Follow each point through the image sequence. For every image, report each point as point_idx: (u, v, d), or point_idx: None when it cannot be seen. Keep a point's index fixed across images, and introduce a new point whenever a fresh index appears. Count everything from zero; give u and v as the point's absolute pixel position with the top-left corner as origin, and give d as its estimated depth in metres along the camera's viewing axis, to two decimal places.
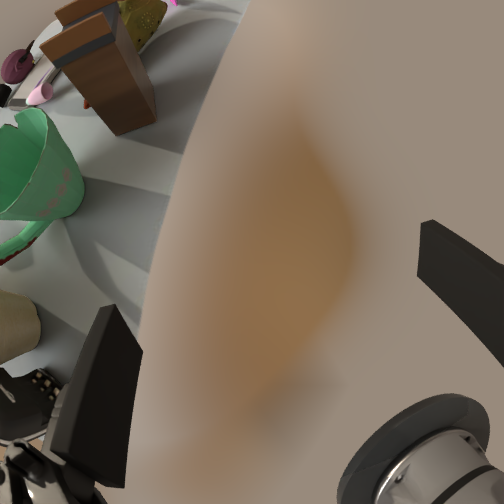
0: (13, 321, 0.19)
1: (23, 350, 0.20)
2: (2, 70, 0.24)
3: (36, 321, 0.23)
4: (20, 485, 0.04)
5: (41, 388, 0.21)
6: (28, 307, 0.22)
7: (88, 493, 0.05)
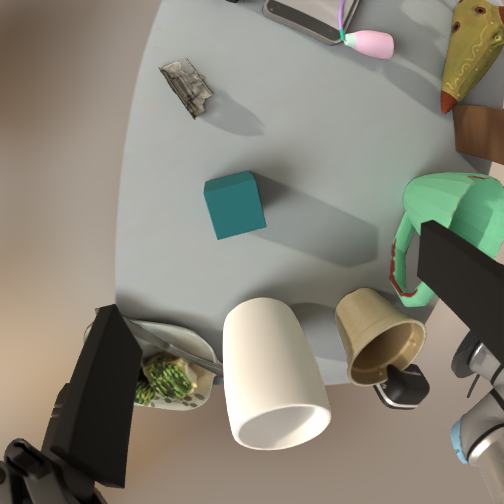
0: None
1: (379, 333, 0.32)
2: None
3: None
4: (20, 485, 0.04)
5: None
6: None
7: (88, 493, 0.05)
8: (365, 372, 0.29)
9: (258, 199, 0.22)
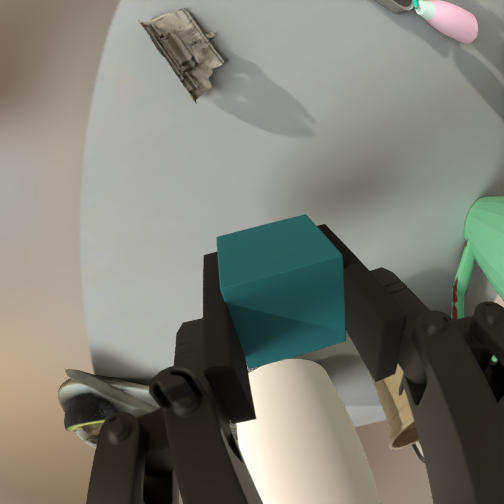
0: None
1: None
2: None
3: None
4: (146, 446, 0.05)
5: None
6: None
7: (228, 427, 0.07)
8: (403, 430, 0.21)
9: (342, 295, 0.10)
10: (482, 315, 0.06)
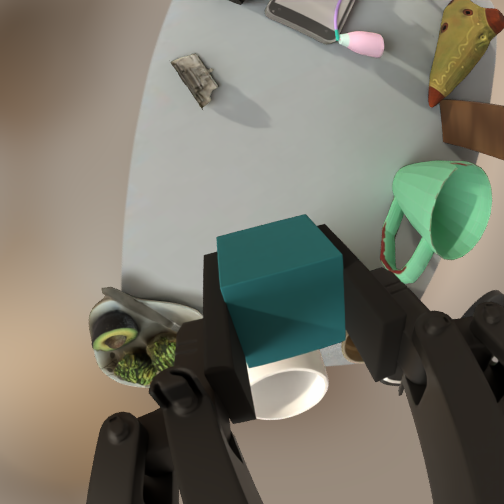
0: None
1: None
2: None
3: None
4: (146, 446, 0.05)
5: None
6: None
7: (228, 427, 0.07)
8: None
9: (341, 295, 0.10)
10: (482, 315, 0.06)
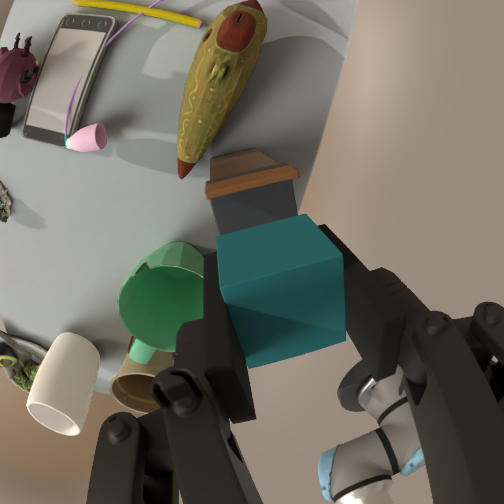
0: None
1: None
2: None
3: None
4: (146, 446, 0.05)
5: None
6: None
7: (228, 427, 0.07)
8: (148, 402, 0.34)
9: (342, 295, 0.10)
10: (482, 315, 0.06)
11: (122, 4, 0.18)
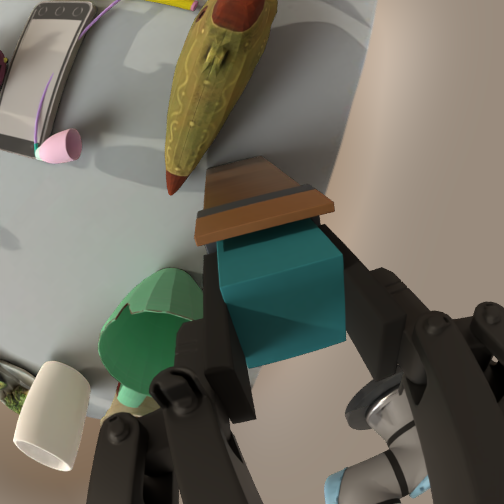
0: None
1: None
2: None
3: None
4: (146, 446, 0.05)
5: None
6: None
7: (228, 427, 0.07)
8: None
9: (342, 295, 0.10)
10: (482, 315, 0.06)
11: None
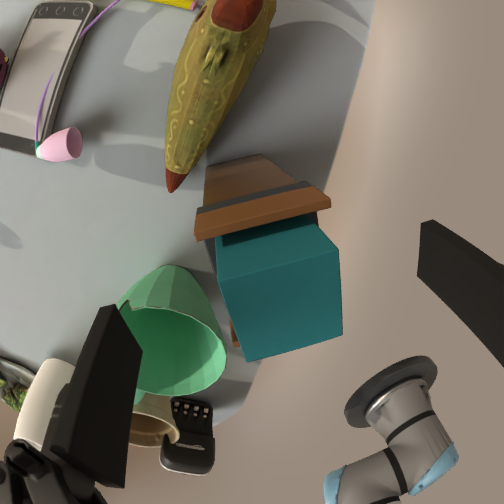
0: (166, 402, 0.29)
1: None
2: None
3: None
4: (19, 485, 0.04)
5: (184, 412, 0.35)
6: None
7: (88, 493, 0.05)
8: (144, 434, 0.29)
9: (338, 289, 0.10)
10: None
11: None
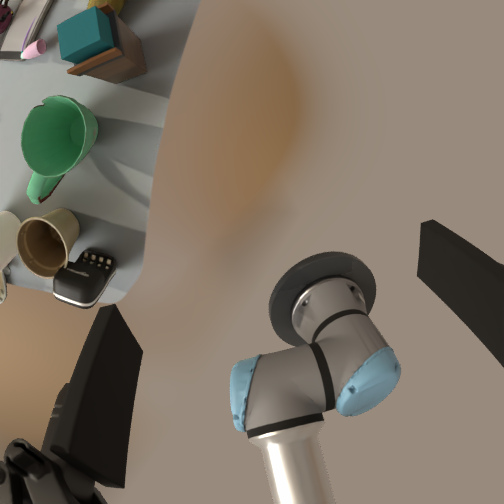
0: (67, 228, 0.35)
1: None
2: None
3: (75, 221, 0.38)
4: (20, 485, 0.04)
5: (90, 262, 0.41)
6: (68, 214, 0.37)
7: (88, 493, 0.05)
8: (49, 269, 0.35)
9: (95, 19, 0.15)
10: None
11: None
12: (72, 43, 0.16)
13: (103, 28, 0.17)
